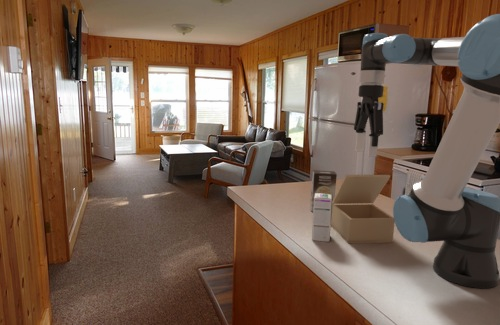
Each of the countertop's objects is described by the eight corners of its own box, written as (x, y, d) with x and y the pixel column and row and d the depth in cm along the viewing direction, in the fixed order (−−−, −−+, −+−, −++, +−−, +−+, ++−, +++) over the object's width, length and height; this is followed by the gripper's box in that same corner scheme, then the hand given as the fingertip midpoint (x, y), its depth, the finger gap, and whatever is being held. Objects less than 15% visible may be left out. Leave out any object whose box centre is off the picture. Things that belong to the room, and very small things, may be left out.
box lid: (390, 176, 118) (389, 174, 119) (346, 176, 116) (345, 174, 117) (372, 203, 131) (372, 201, 131) (332, 203, 129) (332, 201, 129)
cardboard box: (392, 242, 117) (394, 218, 115) (348, 243, 115) (350, 219, 113) (370, 224, 132) (372, 203, 131) (331, 225, 130) (332, 204, 129)
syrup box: (329, 242, 115) (332, 198, 113) (311, 240, 117) (313, 197, 114) (329, 235, 121) (332, 193, 118) (311, 233, 122) (314, 192, 119)
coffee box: (311, 211, 146) (313, 173, 143) (310, 207, 152) (312, 169, 149) (334, 213, 145) (336, 174, 142) (332, 208, 151) (334, 170, 148)
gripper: (400, 84, 105) (392, 159, 109) (367, 85, 127) (362, 149, 131) (376, 83, 104) (369, 159, 108) (347, 85, 126) (342, 149, 130)
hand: (365, 154), depth 120 cm, fingers open, 9 cm apart
